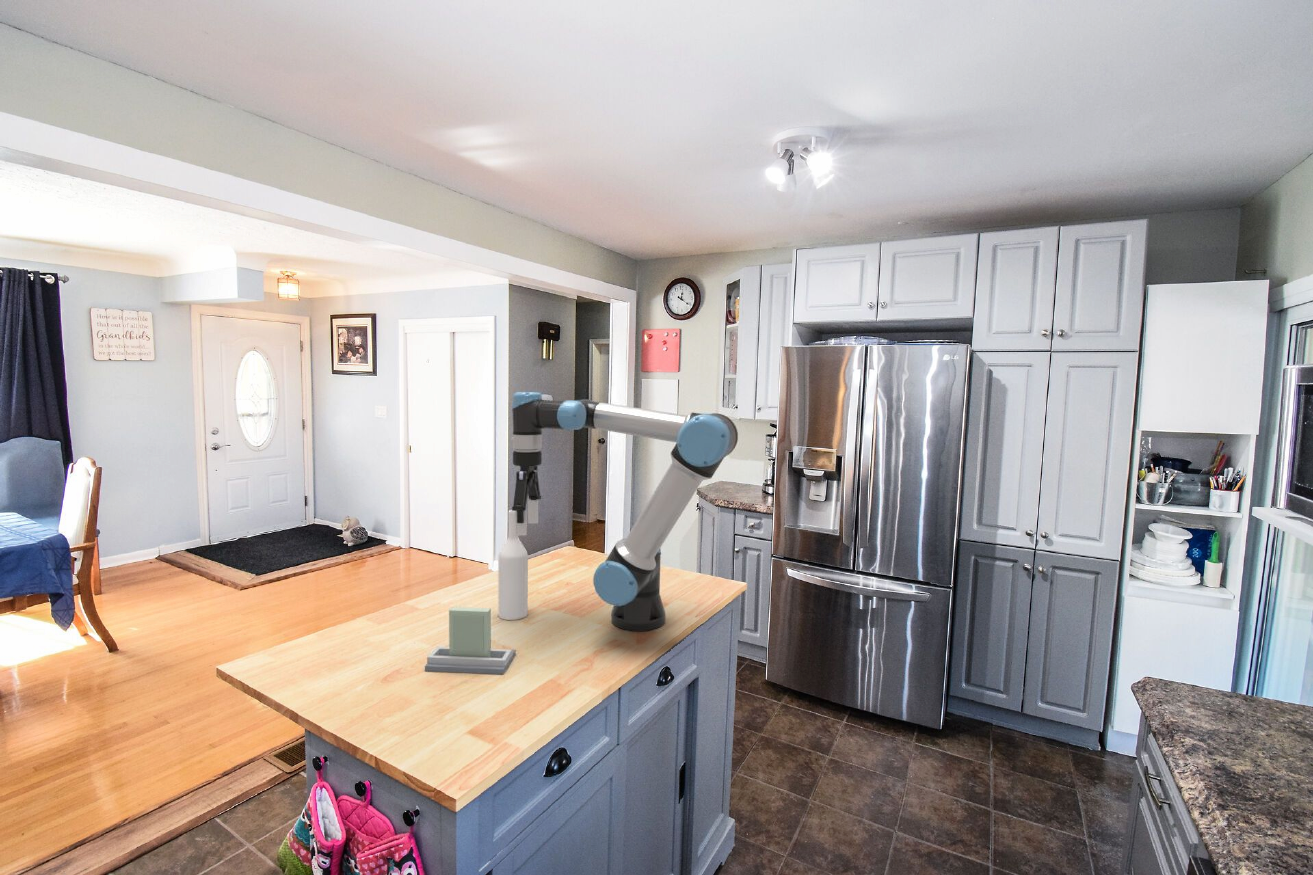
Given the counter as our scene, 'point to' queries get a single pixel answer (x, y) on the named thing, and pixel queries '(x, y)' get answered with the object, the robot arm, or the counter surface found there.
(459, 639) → the door panel
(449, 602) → the counter surface
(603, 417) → the robot arm
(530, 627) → the counter surface
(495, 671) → the base
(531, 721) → the counter surface
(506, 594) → the bottle
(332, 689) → the counter surface
